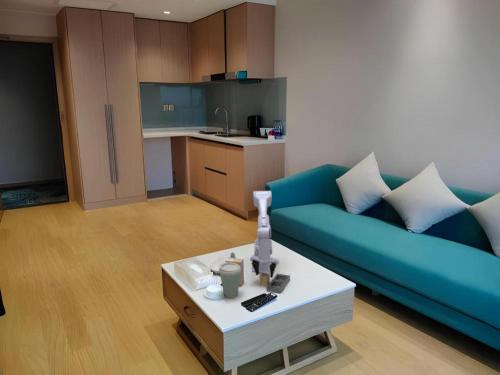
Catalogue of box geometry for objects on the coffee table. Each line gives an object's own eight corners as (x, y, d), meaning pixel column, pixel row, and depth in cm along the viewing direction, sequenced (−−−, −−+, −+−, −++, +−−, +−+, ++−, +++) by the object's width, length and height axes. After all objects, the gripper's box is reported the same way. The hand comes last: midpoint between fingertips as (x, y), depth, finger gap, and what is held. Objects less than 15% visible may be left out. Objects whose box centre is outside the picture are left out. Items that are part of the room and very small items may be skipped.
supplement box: (244, 282, 198) (244, 258, 195) (241, 286, 193) (240, 262, 191) (229, 280, 200) (228, 256, 198) (226, 284, 196) (225, 260, 193)
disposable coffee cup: (244, 290, 189) (243, 262, 186) (238, 301, 179) (237, 271, 176) (223, 288, 191) (222, 260, 188) (216, 299, 181) (215, 269, 178)
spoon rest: (227, 277, 204) (226, 265, 203) (206, 275, 208) (206, 262, 206) (241, 260, 226) (241, 249, 225) (222, 258, 230) (222, 247, 228)
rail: (266, 291, 188) (266, 286, 187) (277, 277, 202) (277, 273, 202) (280, 293, 185) (280, 288, 185) (289, 279, 200) (289, 275, 199)
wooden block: (259, 285, 194) (259, 274, 193) (262, 282, 198) (262, 271, 197) (267, 286, 193) (266, 275, 191) (269, 283, 196) (269, 272, 195)
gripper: (247, 251, 190) (248, 276, 193) (275, 254, 185) (275, 281, 188) (253, 246, 197) (253, 271, 200) (280, 249, 191) (280, 275, 194)
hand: (264, 275), depth 194 cm, fingers open, 7 cm apart
